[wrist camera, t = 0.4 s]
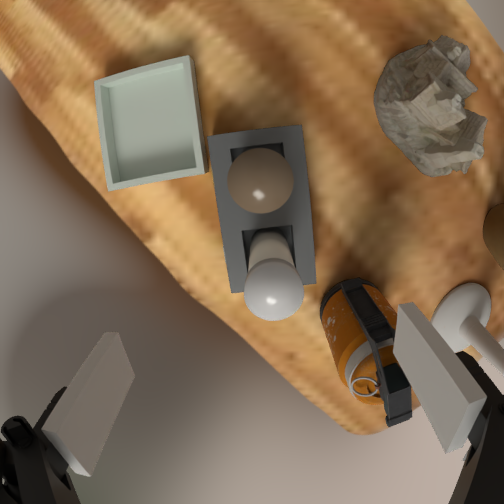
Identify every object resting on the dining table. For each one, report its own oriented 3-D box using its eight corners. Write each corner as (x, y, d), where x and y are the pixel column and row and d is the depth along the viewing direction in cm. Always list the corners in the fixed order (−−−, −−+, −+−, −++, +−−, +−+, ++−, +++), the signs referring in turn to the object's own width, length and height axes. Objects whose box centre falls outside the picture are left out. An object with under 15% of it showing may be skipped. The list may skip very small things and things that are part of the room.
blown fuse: (236, 151, 36) (222, 152, 22) (277, 146, 35) (289, 144, 22) (241, 192, 37) (232, 217, 24) (282, 187, 37) (296, 209, 23)
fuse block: (210, 137, 36) (205, 136, 32) (297, 127, 36) (301, 124, 32) (232, 280, 42) (229, 293, 38) (311, 271, 41) (316, 283, 37)
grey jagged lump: (426, 193, 37) (500, 207, 23) (348, 92, 34) (399, 53, 20) (486, 128, 35) (558, 123, 20) (420, 36, 32) (479, -5, 17)
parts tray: (104, 84, 34) (94, 81, 31) (194, 61, 33) (189, 55, 30) (118, 188, 38) (108, 191, 35) (208, 171, 37) (204, 173, 34)
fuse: (246, 227, 38) (240, 270, 25) (286, 222, 38) (301, 263, 25) (251, 265, 40) (248, 323, 26) (290, 260, 40) (305, 316, 26)
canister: (326, 342, 44) (359, 450, 25) (307, 274, 41) (342, 374, 22) (384, 322, 43) (442, 417, 24) (371, 253, 40) (447, 334, 21)
